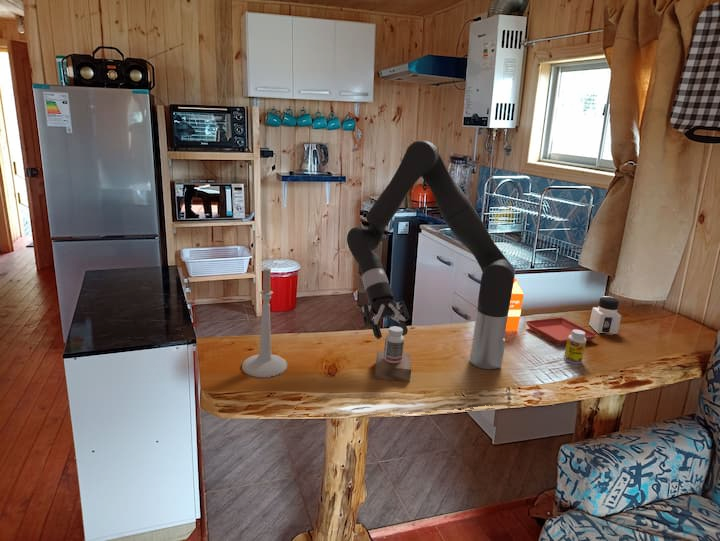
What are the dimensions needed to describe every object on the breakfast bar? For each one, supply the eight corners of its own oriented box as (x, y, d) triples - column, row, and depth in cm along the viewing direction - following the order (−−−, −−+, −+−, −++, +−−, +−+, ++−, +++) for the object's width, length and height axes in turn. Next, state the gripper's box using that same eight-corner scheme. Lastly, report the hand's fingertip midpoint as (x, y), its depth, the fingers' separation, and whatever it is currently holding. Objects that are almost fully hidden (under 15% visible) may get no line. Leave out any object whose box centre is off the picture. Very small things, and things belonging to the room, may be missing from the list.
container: (617, 335, 197) (625, 302, 193) (596, 333, 196) (604, 300, 193) (608, 327, 204) (615, 295, 200) (588, 325, 204) (595, 293, 200)
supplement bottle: (564, 362, 170) (570, 333, 167) (563, 355, 176) (569, 327, 173) (582, 365, 169) (588, 336, 166) (581, 358, 174) (587, 330, 171)
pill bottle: (405, 361, 153) (409, 330, 151) (390, 365, 150) (394, 333, 148) (394, 354, 158) (397, 323, 155) (379, 357, 155) (382, 326, 152)
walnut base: (408, 365, 160) (410, 353, 159) (409, 382, 150) (411, 369, 149) (375, 362, 160) (377, 350, 159) (374, 378, 151) (376, 366, 149)
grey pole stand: (287, 377, 148) (291, 275, 139) (240, 377, 146) (241, 274, 137) (286, 356, 160) (290, 261, 151) (243, 356, 158) (244, 260, 149)
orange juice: (498, 332, 191) (506, 279, 185) (487, 322, 199) (495, 271, 193) (517, 331, 193) (527, 279, 187) (506, 322, 201) (515, 272, 195)
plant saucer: (523, 328, 197) (524, 320, 196) (560, 324, 204) (561, 316, 203) (557, 349, 181) (559, 340, 180) (596, 343, 188) (598, 335, 187)
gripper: (360, 282, 154) (376, 334, 147) (402, 279, 160) (419, 328, 154) (351, 293, 160) (365, 344, 153) (392, 290, 166) (407, 338, 160)
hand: (392, 336), depth 153 cm, fingers open, 8 cm apart
